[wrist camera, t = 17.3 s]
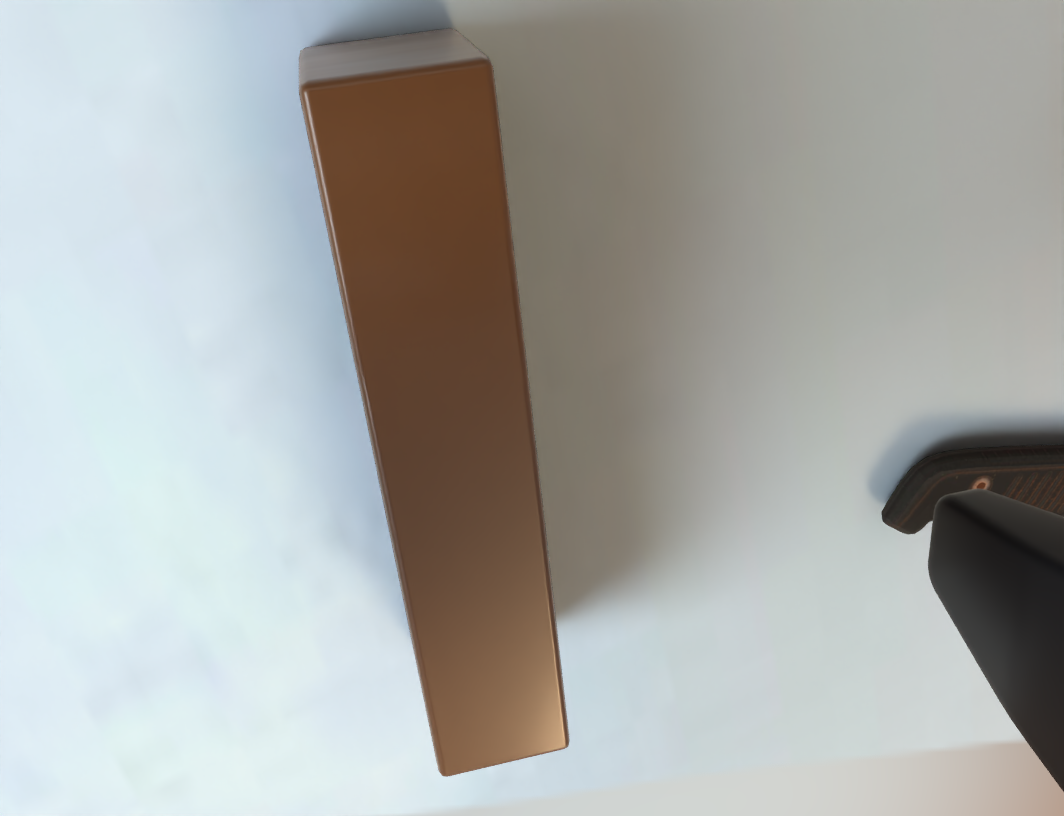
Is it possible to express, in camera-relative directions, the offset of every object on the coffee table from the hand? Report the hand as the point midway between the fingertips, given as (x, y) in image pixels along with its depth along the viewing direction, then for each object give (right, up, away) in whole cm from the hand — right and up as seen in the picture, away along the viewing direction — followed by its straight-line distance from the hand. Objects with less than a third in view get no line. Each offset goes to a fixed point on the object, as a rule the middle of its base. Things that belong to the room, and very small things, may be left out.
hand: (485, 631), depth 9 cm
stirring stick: (-1, +2, +4) cm, 5 cm away
